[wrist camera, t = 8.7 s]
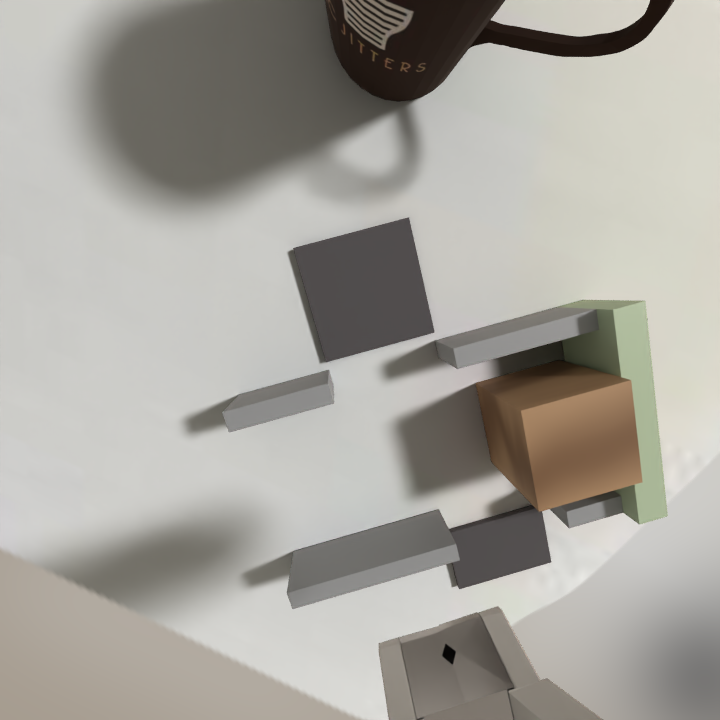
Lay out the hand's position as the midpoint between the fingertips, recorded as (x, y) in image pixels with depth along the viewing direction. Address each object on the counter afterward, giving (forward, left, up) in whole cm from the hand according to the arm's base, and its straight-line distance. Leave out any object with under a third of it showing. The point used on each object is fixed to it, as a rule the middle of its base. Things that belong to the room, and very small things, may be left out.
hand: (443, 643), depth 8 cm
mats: (0, +3, -12) cm, 12 cm away
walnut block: (+1, +9, -12) cm, 15 cm away
